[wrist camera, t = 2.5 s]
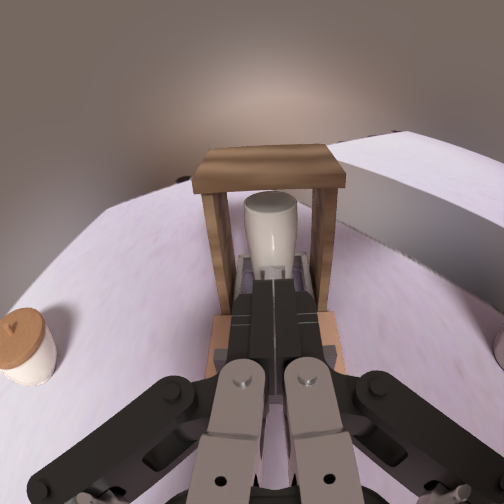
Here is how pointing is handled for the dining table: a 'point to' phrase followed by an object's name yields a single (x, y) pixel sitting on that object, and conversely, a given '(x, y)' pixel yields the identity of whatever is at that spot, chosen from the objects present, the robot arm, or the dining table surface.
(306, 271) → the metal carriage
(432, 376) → the dining table surface
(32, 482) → the robot arm
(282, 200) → the drinking glass
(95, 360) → the dining table surface
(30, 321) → the lidded jar
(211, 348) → the board
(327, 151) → the walnut tunnel
